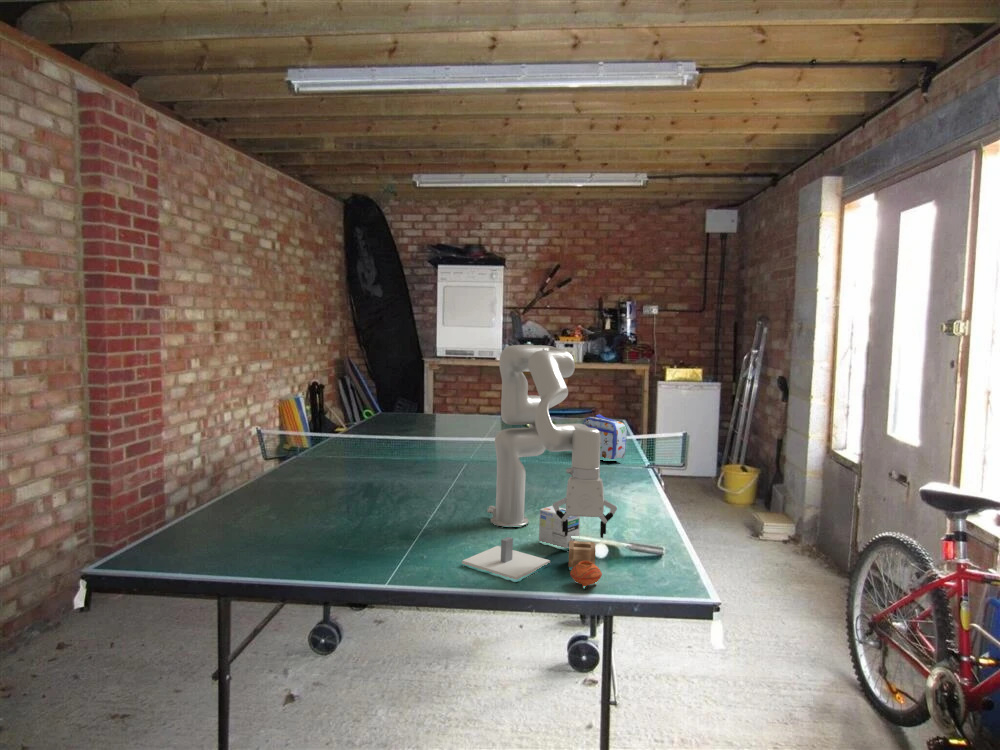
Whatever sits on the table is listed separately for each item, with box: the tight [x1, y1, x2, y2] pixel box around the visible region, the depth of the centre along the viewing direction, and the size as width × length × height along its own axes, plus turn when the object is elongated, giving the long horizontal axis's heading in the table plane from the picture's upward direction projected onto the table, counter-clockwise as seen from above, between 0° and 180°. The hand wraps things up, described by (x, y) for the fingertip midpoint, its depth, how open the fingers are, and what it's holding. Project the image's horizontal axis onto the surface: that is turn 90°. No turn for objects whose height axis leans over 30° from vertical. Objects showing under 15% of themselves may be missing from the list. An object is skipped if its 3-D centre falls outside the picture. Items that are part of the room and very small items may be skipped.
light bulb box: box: [538, 505, 581, 548], centre depth 194 cm, size 11×7×11 cm, turn 48°
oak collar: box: [567, 540, 596, 567], centre depth 178 cm, size 7×7×6 cm
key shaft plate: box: [461, 536, 551, 580], centre depth 177 cm, size 18×16×8 cm
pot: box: [569, 561, 603, 587], centre depth 165 cm, size 8×8×7 cm
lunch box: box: [582, 414, 628, 459], centre depth 325 cm, size 28×10×22 cm, turn 30°
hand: (583, 535), depth 177 cm, fingers open, 9 cm apart
